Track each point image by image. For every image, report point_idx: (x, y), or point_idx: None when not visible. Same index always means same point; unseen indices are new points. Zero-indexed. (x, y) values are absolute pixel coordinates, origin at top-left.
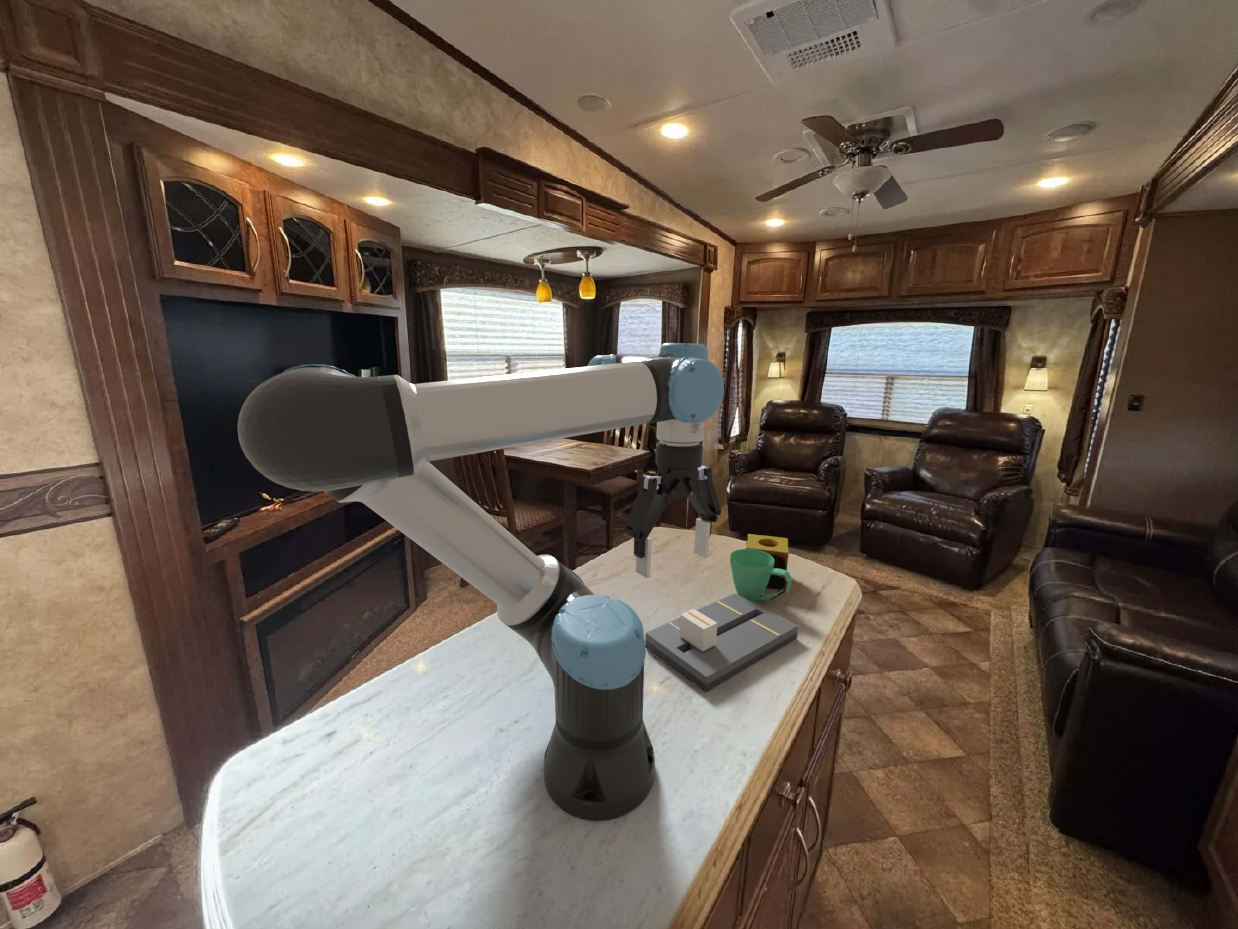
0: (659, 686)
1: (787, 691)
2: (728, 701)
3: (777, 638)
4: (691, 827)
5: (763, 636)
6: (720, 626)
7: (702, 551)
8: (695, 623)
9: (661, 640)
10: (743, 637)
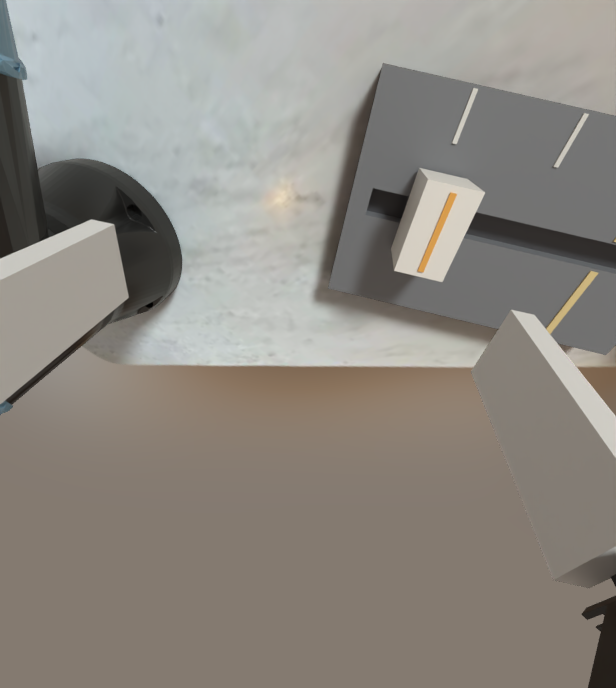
0: (288, 202)
1: (413, 361)
2: (337, 308)
3: None
4: (164, 348)
5: None
6: (528, 223)
7: (489, 375)
8: (406, 241)
9: (376, 136)
10: (498, 287)
